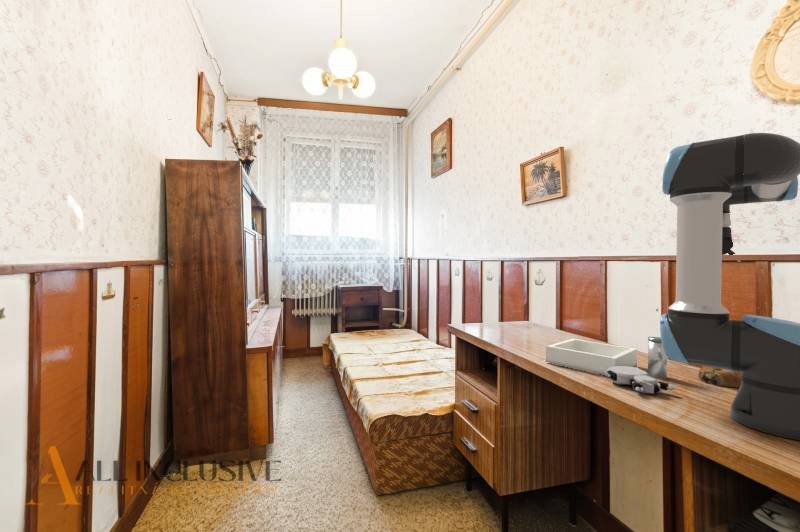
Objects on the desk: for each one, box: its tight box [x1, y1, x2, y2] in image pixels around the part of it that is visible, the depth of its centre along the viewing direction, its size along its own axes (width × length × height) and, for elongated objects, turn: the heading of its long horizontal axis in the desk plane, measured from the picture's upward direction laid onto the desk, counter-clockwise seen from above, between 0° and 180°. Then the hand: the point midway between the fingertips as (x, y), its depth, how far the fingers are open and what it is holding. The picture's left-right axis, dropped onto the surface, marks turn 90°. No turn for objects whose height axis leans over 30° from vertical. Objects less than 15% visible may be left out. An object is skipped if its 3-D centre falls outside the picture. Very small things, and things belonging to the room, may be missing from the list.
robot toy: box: [601, 366, 676, 395], centre depth 103 cm, size 12×4×15 cm
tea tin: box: [647, 336, 669, 380], centre depth 114 cm, size 5×5×12 cm
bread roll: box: [698, 366, 742, 388], centre depth 109 cm, size 10×10×8 cm
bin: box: [545, 338, 638, 377], centre depth 127 cm, size 22×22×6 cm
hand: (719, 290), depth 122 cm, fingers open, 13 cm apart
